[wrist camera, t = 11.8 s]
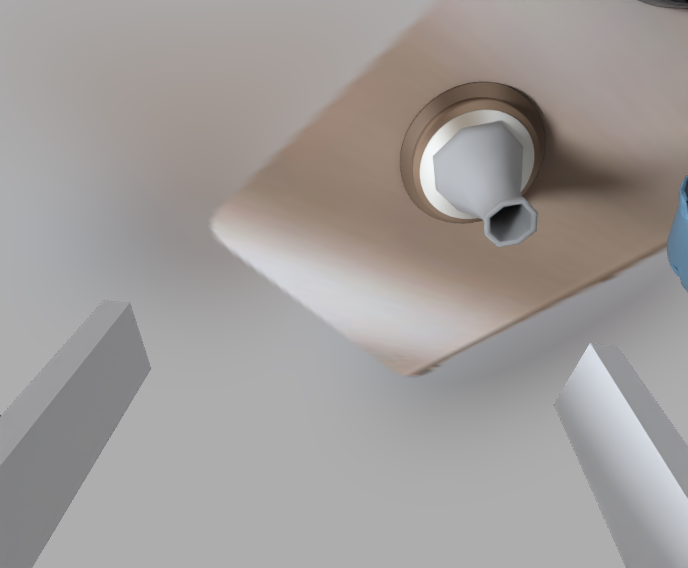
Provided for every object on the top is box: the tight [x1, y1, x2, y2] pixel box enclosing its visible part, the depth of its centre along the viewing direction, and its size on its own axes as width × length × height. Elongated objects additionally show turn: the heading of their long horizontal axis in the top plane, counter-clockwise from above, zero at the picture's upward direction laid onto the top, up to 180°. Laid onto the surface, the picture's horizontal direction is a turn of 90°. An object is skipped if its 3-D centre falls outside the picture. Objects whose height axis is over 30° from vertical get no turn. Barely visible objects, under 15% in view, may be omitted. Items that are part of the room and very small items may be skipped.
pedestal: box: [400, 82, 545, 223], centre depth 34 cm, size 12×12×3 cm
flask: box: [433, 121, 538, 247], centre depth 28 cm, size 7×7×10 cm
